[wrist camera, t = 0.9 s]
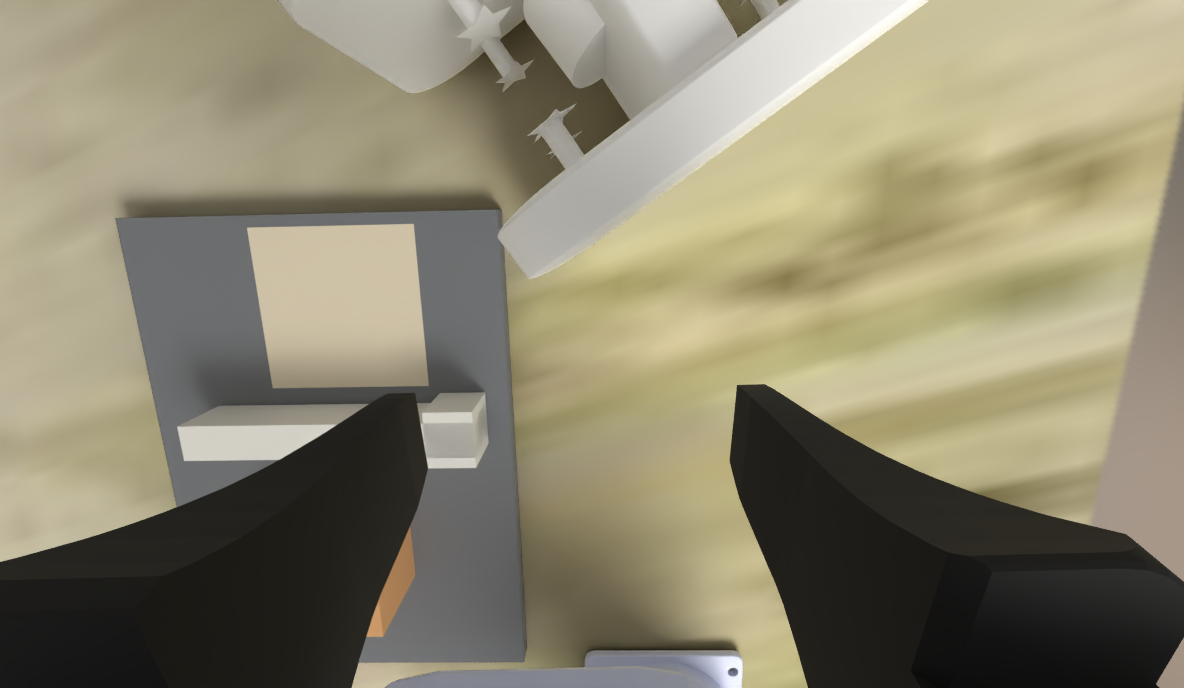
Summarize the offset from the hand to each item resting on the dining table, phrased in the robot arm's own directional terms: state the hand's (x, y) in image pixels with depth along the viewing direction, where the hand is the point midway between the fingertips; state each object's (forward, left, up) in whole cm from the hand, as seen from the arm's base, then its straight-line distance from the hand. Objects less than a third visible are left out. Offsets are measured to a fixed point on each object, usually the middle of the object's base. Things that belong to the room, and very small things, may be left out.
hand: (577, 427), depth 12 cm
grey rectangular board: (-6, +12, -13) cm, 18 cm away
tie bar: (-4, +11, -11) cm, 16 cm away
